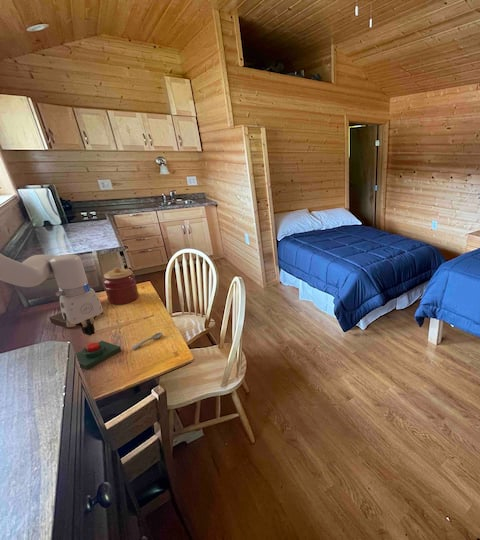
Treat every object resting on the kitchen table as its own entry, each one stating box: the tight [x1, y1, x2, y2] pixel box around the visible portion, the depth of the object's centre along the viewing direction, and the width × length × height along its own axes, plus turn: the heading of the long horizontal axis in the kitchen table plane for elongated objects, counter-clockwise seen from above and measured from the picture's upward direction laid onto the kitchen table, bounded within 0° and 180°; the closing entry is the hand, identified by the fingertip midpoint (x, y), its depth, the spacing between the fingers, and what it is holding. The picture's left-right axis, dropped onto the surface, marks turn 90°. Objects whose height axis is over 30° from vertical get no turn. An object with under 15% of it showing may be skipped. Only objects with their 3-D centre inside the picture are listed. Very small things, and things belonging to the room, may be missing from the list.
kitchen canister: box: [102, 266, 140, 305], centre depth 152 cm, size 13×13×18 cm
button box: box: [75, 340, 122, 371], centre depth 114 cm, size 12×10×4 cm
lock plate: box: [48, 311, 104, 330], centre depth 136 cm, size 14×11×3 cm
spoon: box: [130, 332, 163, 351], centre depth 125 cm, size 3×12×2 cm, turn 153°
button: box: [85, 342, 100, 352], centre depth 113 cm, size 4×4×2 cm
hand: (89, 333), depth 111 cm, fingers closed
